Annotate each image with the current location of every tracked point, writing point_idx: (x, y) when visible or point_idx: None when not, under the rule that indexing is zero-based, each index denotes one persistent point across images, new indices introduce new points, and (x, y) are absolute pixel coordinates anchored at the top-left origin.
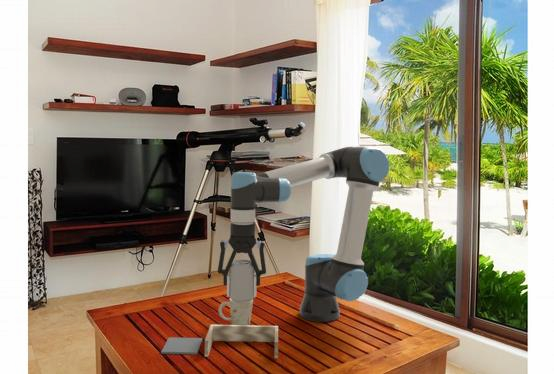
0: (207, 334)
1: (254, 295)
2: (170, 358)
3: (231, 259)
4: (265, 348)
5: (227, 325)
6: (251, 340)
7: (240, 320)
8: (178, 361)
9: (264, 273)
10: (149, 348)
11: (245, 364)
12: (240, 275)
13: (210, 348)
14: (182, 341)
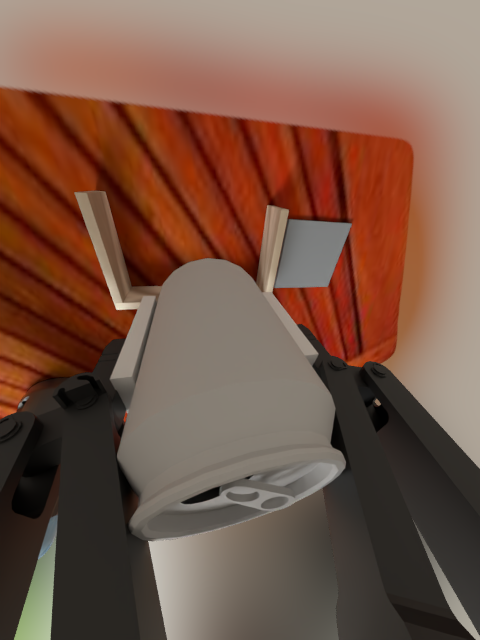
0: (279, 249)
1: (149, 300)
2: (337, 199)
3: (385, 509)
4: (144, 252)
5: None
6: None
7: None
8: (326, 181)
9: (10, 419)
10: (361, 247)
11: (177, 150)
12: (241, 335)
13: (261, 246)
14: (309, 271)
